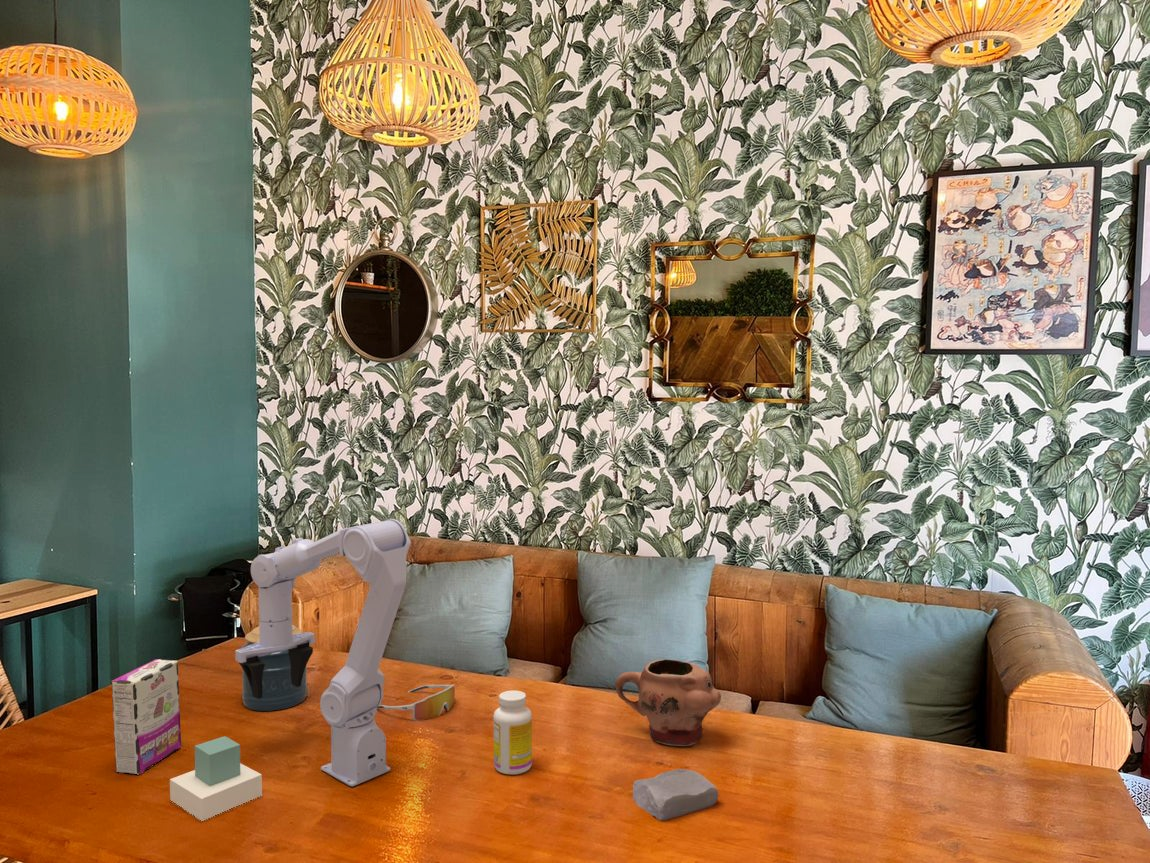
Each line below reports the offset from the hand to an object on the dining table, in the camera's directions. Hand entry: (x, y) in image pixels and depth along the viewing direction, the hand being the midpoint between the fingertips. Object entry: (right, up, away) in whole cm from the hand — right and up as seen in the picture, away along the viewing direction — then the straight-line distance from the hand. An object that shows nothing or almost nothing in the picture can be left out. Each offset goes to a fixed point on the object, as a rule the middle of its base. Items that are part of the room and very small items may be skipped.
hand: (277, 691), depth 151 cm
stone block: (+70, -12, -18) cm, 74 cm away
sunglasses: (+22, -10, +20) cm, 31 cm away
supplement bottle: (+44, -11, -7) cm, 46 cm away
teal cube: (-3, -8, -18) cm, 20 cm away
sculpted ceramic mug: (+72, -11, +5) cm, 73 cm away
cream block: (-3, -12, -18) cm, 22 cm away
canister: (-9, -9, +23) cm, 26 cm away
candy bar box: (-21, -11, -5) cm, 24 cm away
